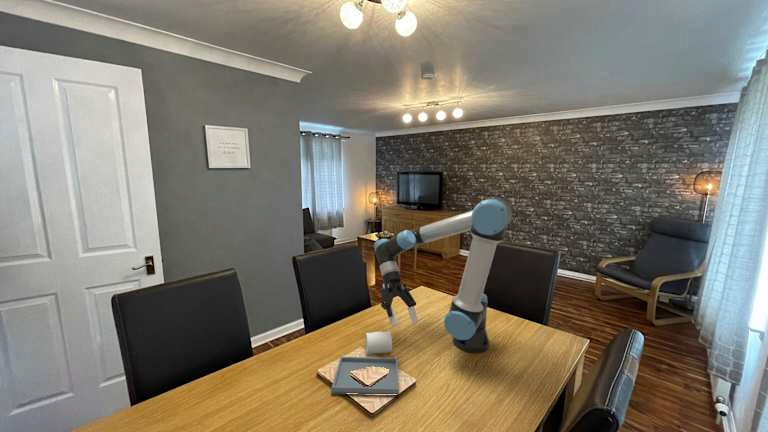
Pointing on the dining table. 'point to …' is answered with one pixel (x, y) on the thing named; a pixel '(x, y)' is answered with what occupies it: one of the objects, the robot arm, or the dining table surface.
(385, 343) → the mug
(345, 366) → the tray
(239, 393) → the dining table surface
